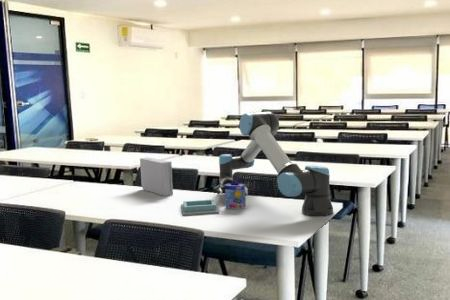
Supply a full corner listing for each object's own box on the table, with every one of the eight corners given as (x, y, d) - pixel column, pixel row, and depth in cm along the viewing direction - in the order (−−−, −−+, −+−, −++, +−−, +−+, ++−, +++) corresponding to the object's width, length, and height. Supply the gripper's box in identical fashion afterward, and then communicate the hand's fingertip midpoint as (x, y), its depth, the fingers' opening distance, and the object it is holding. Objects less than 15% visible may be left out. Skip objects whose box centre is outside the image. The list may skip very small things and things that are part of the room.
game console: (164, 196, 290) (163, 163, 287) (141, 189, 311) (139, 158, 308) (173, 194, 294) (171, 161, 291) (149, 188, 315) (147, 157, 312)
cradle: (218, 213, 248) (218, 206, 248) (183, 215, 246) (182, 209, 246) (214, 203, 268) (214, 197, 268) (181, 206, 266) (180, 199, 265)
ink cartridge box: (225, 208, 258) (224, 181, 256) (227, 205, 263) (226, 179, 261) (243, 208, 256) (242, 181, 254) (245, 206, 261) (245, 179, 259)
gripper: (250, 189, 282) (257, 198, 261) (206, 192, 279) (210, 201, 258) (250, 176, 281) (257, 184, 260) (206, 179, 278) (210, 187, 257)
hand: (234, 192), depth 259 cm, fingers open, 13 cm apart
